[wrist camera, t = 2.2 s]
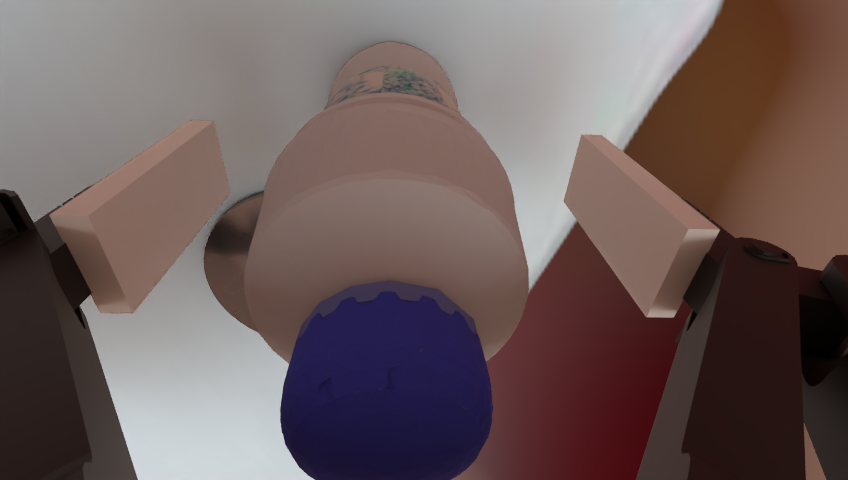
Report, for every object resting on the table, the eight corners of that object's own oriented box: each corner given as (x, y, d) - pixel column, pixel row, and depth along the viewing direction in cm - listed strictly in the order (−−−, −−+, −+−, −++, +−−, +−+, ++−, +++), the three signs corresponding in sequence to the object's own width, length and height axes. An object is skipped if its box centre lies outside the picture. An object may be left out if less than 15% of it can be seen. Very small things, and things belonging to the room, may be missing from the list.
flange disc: (230, 337, 31) (227, 345, 31) (185, 185, 24) (179, 191, 24) (397, 336, 32) (397, 343, 32) (400, 190, 25) (400, 195, 25)
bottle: (455, 152, 24) (588, 548, 7) (343, 161, 24) (225, 584, 7) (452, 27, 20) (704, 255, 4) (320, 37, 20) (-24, 316, 4)
